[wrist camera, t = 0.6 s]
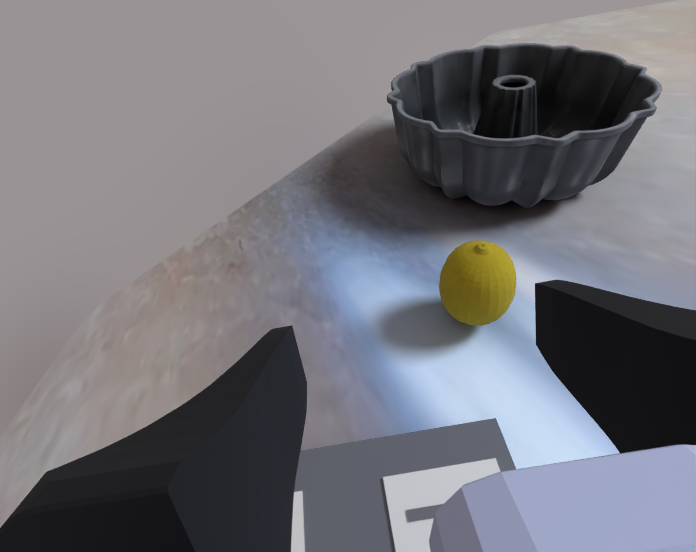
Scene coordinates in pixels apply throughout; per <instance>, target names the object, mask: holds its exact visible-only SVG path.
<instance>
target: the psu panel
mask: <svg viewBox="0 0 696 552" xmlns="http://www.w3.org/2000/svg"><path fill="white" fill-rule="evenodd" d="M509 470H516V468H515V465H514V463H513V460H512V458H511V455H510V453H509V450H508V448H507V445H506V443H505V440H504V438H503V435H502V433H501V430H500V428H499V425H498V423H497V420H496V418H494V419H488V420H482V421H476V422H470V423H464V424H458V425H452V426H446V427H440V428H434V429H429V430H423V431H417V432H411V433H405V434H399V435H393V436H387V437H381V438H375V439H369V440H363V441H357V442H351V443H345V444H339V445H333V446H327V447H321V448H315V449H309V450H304V451H300V455H299V462H298V468H297V474H296V480H295V489H294V499H293V517H292V537H291V552H431V551H430V545H429V538H430V533H431V529H432V524H433V519H434V515H435V512H436V511H437V510H438V509H439V508H440V507H441V506H442V505H443V504H444V503H445V502H446V501H447V500H448V499H449V498H450V497H451V496H452V495H453V494H454V493H455V492H457V491H458V490H459V489H460V488H461V487H462V486H463V485H464V484H467V483H470V482H472V481H475V480H478V479H481V478H484V477H486V476H489V475H492V474H495V473H498V472H503V471H509Z"/></svg>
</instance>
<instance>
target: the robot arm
mask: <svg viewBox="0 0 696 552" xmlns="http://www.w3.org/2000/svg"><path fill="white" fill-rule="evenodd" d="M535 310H536V345H537V347H538V349H539V350H540V352H541V354H542V355H543V357H544V359H545V360H546V362H547V363H548V365H549V366H550V368H551V369H552V371H553V372H554V374H555V375H556V376H557V377H558V378H559V380H560V381H561V382H562V383H563V384H564V386H565V387H566V388H567V389H568V390H569V392H570V393H571V394H572V395H573V396H574V397H575V398H576V400H577V401H578V402H579V403H580V404H581V405H582V407H583V408H584V409H585V410H586V411H587V412H588V414H589V415H590V416H591V417H592V418H593V419H594V421H595V422H596V423H597V424H598V425H599V426H600V428H601V429H602V430H603V431H604V432H605V434H606V435H607V436H608V437H609V439H610V440H611V441H612V443H613V444H614V445H615V446H616V448H617V449H618V451H619V452H620V454H613V455H607V456H600V457H594V458H587V459H581V460H574V461H568V462H561V463H555V464H548V465H542V466H535V467H529V468H522V469H516V470H509V471H503V472H498V473H495V474H492V475H489V476H486V477H484V478H481V479H478V480H475V481H472V482H470V483H467V484H464V485H463V486H462V487H461V488H460V489H459V490H458V491H457V492H455V493H454V494H453V495H452V496H451V497H450V498H449V499H448V500H447V501H446V502H445V503H444V504H443V505H442V506H441V507H440V508H439V509H438V510H437V511H436V512H435V515H434V519H433V524H432V529H431V533H430V538H429V545H430V551H431V552H696V310H690V309H684V308H679V307H673V306H669V305H664V304H659V303H655V302H650V301H645V300H641V299H637V298H633V297H629V296H625V295H621V294H617V293H613V292H609V291H605V290H601V289H598V288H594V287H590V286H586V285H582V284H578V283H573V282H568V281H563V280H552V281H547V282H541V283H535ZM306 409H307V381H306V377H305V373H304V369H303V366H302V362H301V358H300V354H299V350H298V346H297V343H296V339H295V335H294V331H293V327H292V326H287V327H281V328H275V329H272V330H270V331H269V332H268V333H267V334H266V335H264V336H263V337H262V338H261V339H260V340H259V341H258V342H257V343H256V344H255V345H254V346H253V347H252V348H251V349H250V350H249V351H248V352H247V353H246V354H245V355H244V356H243V357H242V358H241V359H240V360H238V361H237V362H236V363H235V364H234V365H233V366H232V367H231V368H229V369H228V370H227V371H226V372H225V373H224V374H223V375H221V376H220V377H219V378H218V379H217V380H216V381H214V382H213V383H212V384H211V385H209V386H208V387H207V388H206V389H204V390H203V391H202V392H200V393H199V394H197V395H196V396H195V397H193V398H192V399H190V400H189V401H188V402H186V403H185V404H183V405H182V406H180V407H178V408H177V409H175V410H173V411H172V412H170V413H168V414H167V415H165V416H163V417H162V418H160V419H159V420H157V421H155V422H154V423H152V424H150V425H148V426H147V427H145V428H143V429H141V430H139V431H137V432H135V433H133V434H132V435H130V436H128V437H126V438H124V439H121V440H119V441H117V442H115V443H113V444H111V445H109V446H107V447H105V448H103V449H101V450H98V451H96V452H94V453H91V454H89V455H86V456H84V457H82V458H79V459H77V460H75V461H72V462H70V463H67V464H65V465H63V466H60V467H58V468H55V469H53V470H50V471H47V472H46V473H45V474H44V475H43V477H42V478H41V479H40V480H39V482H38V483H37V484H36V485H35V486H34V488H33V489H32V490H31V491H30V493H29V494H28V495H27V496H26V497H25V499H24V500H23V501H22V502H21V503H20V505H19V506H18V507H17V508H16V510H15V511H14V512H13V513H12V514H11V516H10V517H9V518H8V519H7V521H6V522H5V523H4V524H3V525H2V527H1V528H0V552H291V537H292V517H293V499H294V489H295V480H296V474H297V468H298V462H299V455H300V449H301V443H302V437H303V431H304V424H305V418H306Z"/></svg>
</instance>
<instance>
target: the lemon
mask: <svg viewBox="0 0 696 552" xmlns="http://www.w3.org/2000/svg"><path fill="white" fill-rule="evenodd" d="M515 288H516V272H515V268H514V264H513V261H512V260H511V258H510V256H509V255H508V253H507V252H505V251H504V250H503V249H502V248H501V247H499V246H498V245H496V244H494V243H491V242H488V241H471V242H467V243H464V244H462V245H461V246H459V247H457V248H456V249H455V250H454V251H453V252H452V253H451V254H450V255H449V256H448V258H447V260H446V262H445V264H444V266H443V268H442V271H441V275H440V283H439V291H440V296H441V300H442V303H443V305H444V307H445V308H446V310H447V312H448V313H449V314H450V315H451V316H452V317H453V318H455V319H456V320H458V321H460V322H462V323H465V324H467V325H473V326H477V325H485V324H489V323H491V322H493V321H495V320H497V319H499V318H500V317H501V316H502V315H503V314H504V313H505V312H506V311H507V309H508V308H509V306H510V304H511V302H512V300H513V298H514V295H515Z"/></svg>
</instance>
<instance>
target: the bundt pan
mask: <svg viewBox="0 0 696 552" xmlns="http://www.w3.org/2000/svg"><path fill="white" fill-rule="evenodd" d="M646 70H647V68H646V67H643V66H639V65H634V64H629V63H627V62H626V60H624V59H623V58H621V57H619V56H616V55H614V54H610V53H606V52H601V51H593V50H582V49H579V48H577V47H575V46H551V45H545V44H536V43H518V44H507V45H502V46H493V45H483V46H479V47H476V48H473V49H465V50H455V51H450V52H446V53H442V54H439V55H437V56H435V57H433V58H431V59H430V60H428V61H421V62H417V63H414V64H412V65H411V69H410V70H407V71H404V72H402V73H400V74H399V75H397V76H396V77H395V78H394V79H393V80H392V82H391V89H392V92H390V93H389V94H388V95H387V102H388V103H390V104H391V105H392V110H393V116H394V121H395V126H396V132H397V137H398V142H399V147H400V150H401V152H402V155H403V156H404V158H405V159H406V160H407V161H408V162H409V163H410V164H411V166H412V168H413V170H414V171H415V173H416V174H417V175H418V176H419V177H420V178H421V179H422V180H423V181H425V182H426V183H428V184H430V185H433V186H438V187H441V188H442V190H443V192H444V193H445V195H447V196H448V197H450V198H459V197H463V196H466V195H468V197H470V198H471V199H472V200H474V201H476V202H477V203H480V204H483V205H490V206H494V205H501V204H504V203H507V202H509V201H511V200H512V201H514V202H515V203H517V204H519V205H520V206H522V207H524V208H530V207H532V206H534V205H535V204H537V203H538V202H539V201H540V200H542V199H546V200H560V199H565V198H568V197H571V196H573V195H575V194H577V193H579V192H581V191H582V190H584V189H585V188H586V187H587V186H589V185H593V184H595V183H597V182H599V181H601V180H603V179H604V178H606V177H607V176H608V175H609V174H610V173H612V172H613V171H614V169H615V168H616V167H617V166H618V164H619V162H620V161H621V159H622V157H623V156H624V154H625V153H626V151H627V149H628V148H629V146H630V144H631V143H632V141H633V139H634V138H635V136H636V134H637V133H638V131H639V130H640V128H641V126H642V125H643V123H644V122H645V120H646V118H647V117H649V116H652V115H653V114H654V113H655V111H656V109H657V107H656V106H655V104H654V102H655V101H656V100H657V99H658V97H659V95H660V93H661V91H662V87H661V84H660V83H659V82H658V81H656V80H655V79H654V78H652V77H650V76H648V75H646V74H645V72H646Z"/></svg>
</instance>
